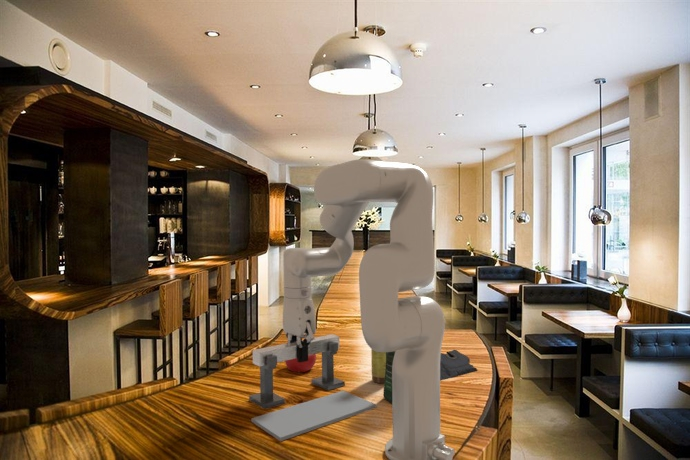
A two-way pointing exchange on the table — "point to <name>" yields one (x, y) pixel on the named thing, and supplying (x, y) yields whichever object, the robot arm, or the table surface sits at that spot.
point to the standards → (325, 381)
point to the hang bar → (293, 349)
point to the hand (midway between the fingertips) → (298, 359)
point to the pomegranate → (301, 364)
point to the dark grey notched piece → (454, 365)
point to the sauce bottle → (378, 366)
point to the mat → (312, 414)
